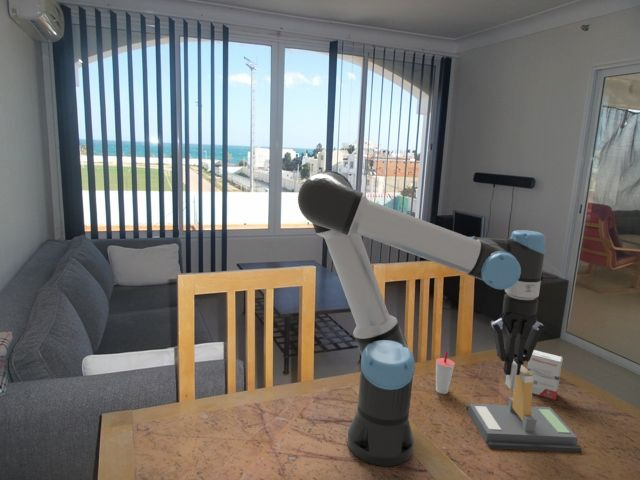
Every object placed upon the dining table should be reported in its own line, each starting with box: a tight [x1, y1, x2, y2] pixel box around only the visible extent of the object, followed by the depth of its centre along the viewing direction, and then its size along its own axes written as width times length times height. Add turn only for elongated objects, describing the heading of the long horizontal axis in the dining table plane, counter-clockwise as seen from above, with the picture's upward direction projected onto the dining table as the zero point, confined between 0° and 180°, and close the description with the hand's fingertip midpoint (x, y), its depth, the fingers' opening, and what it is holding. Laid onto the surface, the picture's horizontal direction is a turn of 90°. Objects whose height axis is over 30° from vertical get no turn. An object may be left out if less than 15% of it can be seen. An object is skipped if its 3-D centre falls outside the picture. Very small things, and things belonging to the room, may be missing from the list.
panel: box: [467, 396, 578, 445], centre depth 116 cm, size 22×13×6 cm, turn 91°
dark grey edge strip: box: [487, 442, 582, 453], centre depth 109 cm, size 22×1×1 cm, turn 91°
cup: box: [435, 351, 456, 395], centre depth 131 cm, size 5×5×12 cm
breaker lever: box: [512, 364, 533, 421], centre depth 115 cm, size 2×6×13 cm, turn 1°
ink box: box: [526, 349, 563, 400], centre depth 134 cm, size 9×5×12 cm, turn 58°
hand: (509, 386), depth 114 cm, fingers closed
